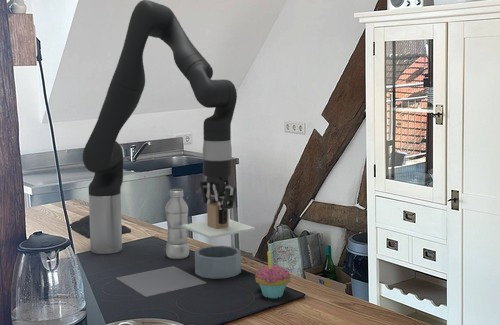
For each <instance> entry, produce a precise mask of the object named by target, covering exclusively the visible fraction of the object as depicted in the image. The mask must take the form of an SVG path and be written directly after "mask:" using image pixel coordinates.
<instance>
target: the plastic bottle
mask: <svg viewBox="0 0 500 325" xmlns="http://www.w3.org/2000/svg"><path fill="white" fill-rule="evenodd" d="M164 211H165V217H166V226H167V238H166V239H167V242H166V244H165V245H166V247H165V252H166V256H167V258H169V259H172V260H182V259H186V258H188V256H189V255H190V254H189V253H190V245H189V241H188V234H187V231H188V230H187V229H185V228H182V227H181V225H184V224H188V216H189V206H188V204H187V202H186V201H185V199H184V189H182V188H173V189H170V190H169V200H168V201H167V203H166V205H165V208H164Z"/></svg>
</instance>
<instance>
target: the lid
mask: <svg viewBox="0 0 500 325" xmlns="http://www.w3.org/2000/svg"><path fill="white" fill-rule="evenodd" d="M222 205H223V202H222ZM206 206H207V207H206V209H207V210H206V213H207V215H206V217H207V218H206V219H207V220H203V221H198V222H193V223H192V222H191V223H187V224H184V225H181V227H182V228H185V229H187V231H190V232H193V233H195V234H198V235H200V236H203V237H206V238H208V239H213V238H214V239H215V238H219V237H224V236H231V235H236V234H240V233H246V232H251V231H253V232H254V231H256V227H254V226H252V225H247V224H245V223H242V222H239V221H236V220H233V219H231V218H230V217H229V209H228V210H227V223H226V224H219V208H218V202H215V203H208V204H207V203H206Z"/></svg>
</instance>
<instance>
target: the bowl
mask: <svg viewBox="0 0 500 325" xmlns="http://www.w3.org/2000/svg"><path fill="white" fill-rule="evenodd" d="M241 264H242V252H241V250H240V248H236V247H234V246H228V245H208V246H202V247H200V248H198V249H196V250H194V271H195V272H194V273H195V275H197V276H199V277H200V278H206V279H214V280H215V279H227V278H228V279H229V278H232V277H235V276H236V277H237V276H238V275H239V274H241V273H242V265H241Z"/></svg>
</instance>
